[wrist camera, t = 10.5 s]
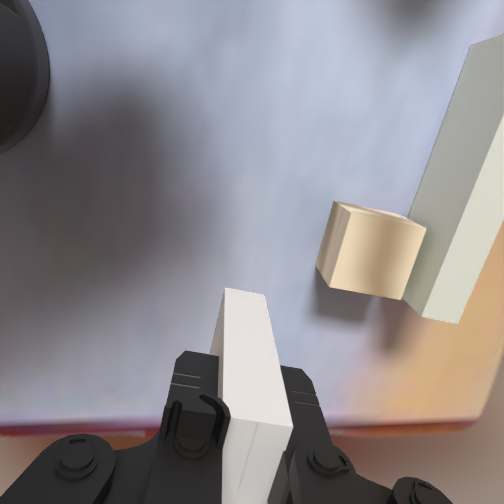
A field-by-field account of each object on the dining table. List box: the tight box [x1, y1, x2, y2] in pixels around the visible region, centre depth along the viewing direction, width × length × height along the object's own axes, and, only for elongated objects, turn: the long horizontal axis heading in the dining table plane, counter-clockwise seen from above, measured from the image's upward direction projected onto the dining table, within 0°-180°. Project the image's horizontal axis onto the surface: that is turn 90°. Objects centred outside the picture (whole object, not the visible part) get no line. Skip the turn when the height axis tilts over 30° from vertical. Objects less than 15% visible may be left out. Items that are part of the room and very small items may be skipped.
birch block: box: [315, 201, 427, 300], centre depth 32 cm, size 6×6×5 cm
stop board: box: [402, 34, 504, 324], centre depth 29 cm, size 3×20×7 cm, turn 167°
